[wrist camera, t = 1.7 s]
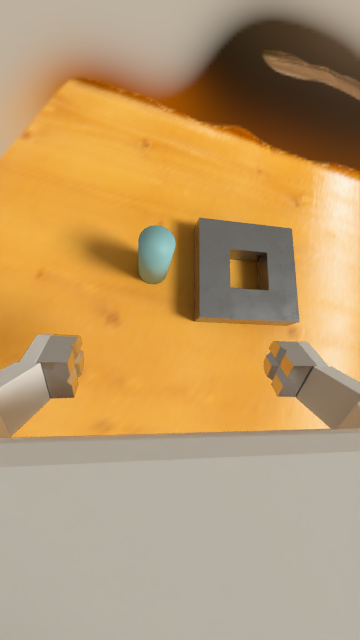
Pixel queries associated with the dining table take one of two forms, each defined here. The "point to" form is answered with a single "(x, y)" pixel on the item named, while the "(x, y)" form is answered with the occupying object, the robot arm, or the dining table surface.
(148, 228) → the teal peg
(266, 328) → the dining table surface
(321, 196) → the dining table surface
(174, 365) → the dining table surface
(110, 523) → the robot arm
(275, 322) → the socket block
